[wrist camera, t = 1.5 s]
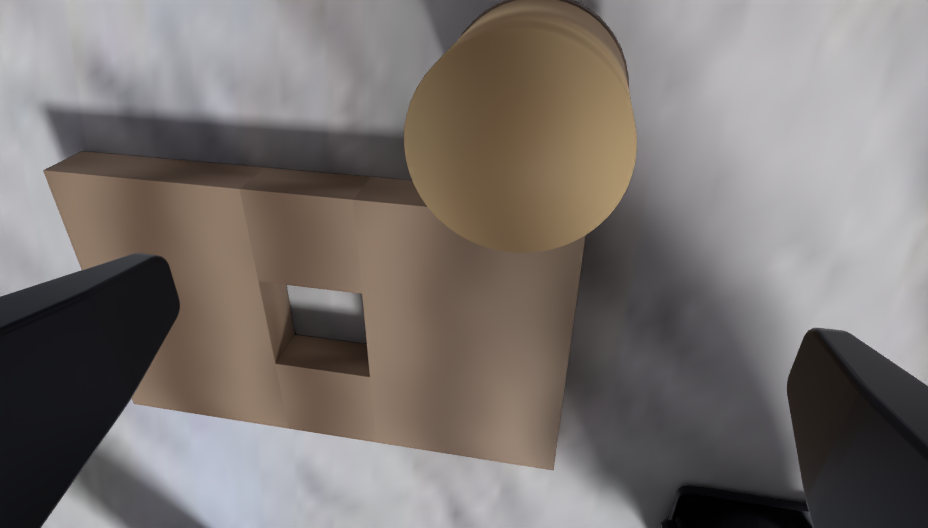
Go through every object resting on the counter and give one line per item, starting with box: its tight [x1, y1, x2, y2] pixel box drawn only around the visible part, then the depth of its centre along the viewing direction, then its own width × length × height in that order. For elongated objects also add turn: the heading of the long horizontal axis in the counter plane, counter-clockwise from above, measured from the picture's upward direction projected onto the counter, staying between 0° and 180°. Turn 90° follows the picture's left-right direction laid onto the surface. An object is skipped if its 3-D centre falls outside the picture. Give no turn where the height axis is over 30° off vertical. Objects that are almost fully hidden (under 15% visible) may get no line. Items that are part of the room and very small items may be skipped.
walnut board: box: [43, 151, 586, 470], centre depth 25 cm, size 20×12×2 cm, turn 89°
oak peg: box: [404, 0, 637, 253], centre depth 16 cm, size 5×5×7 cm
